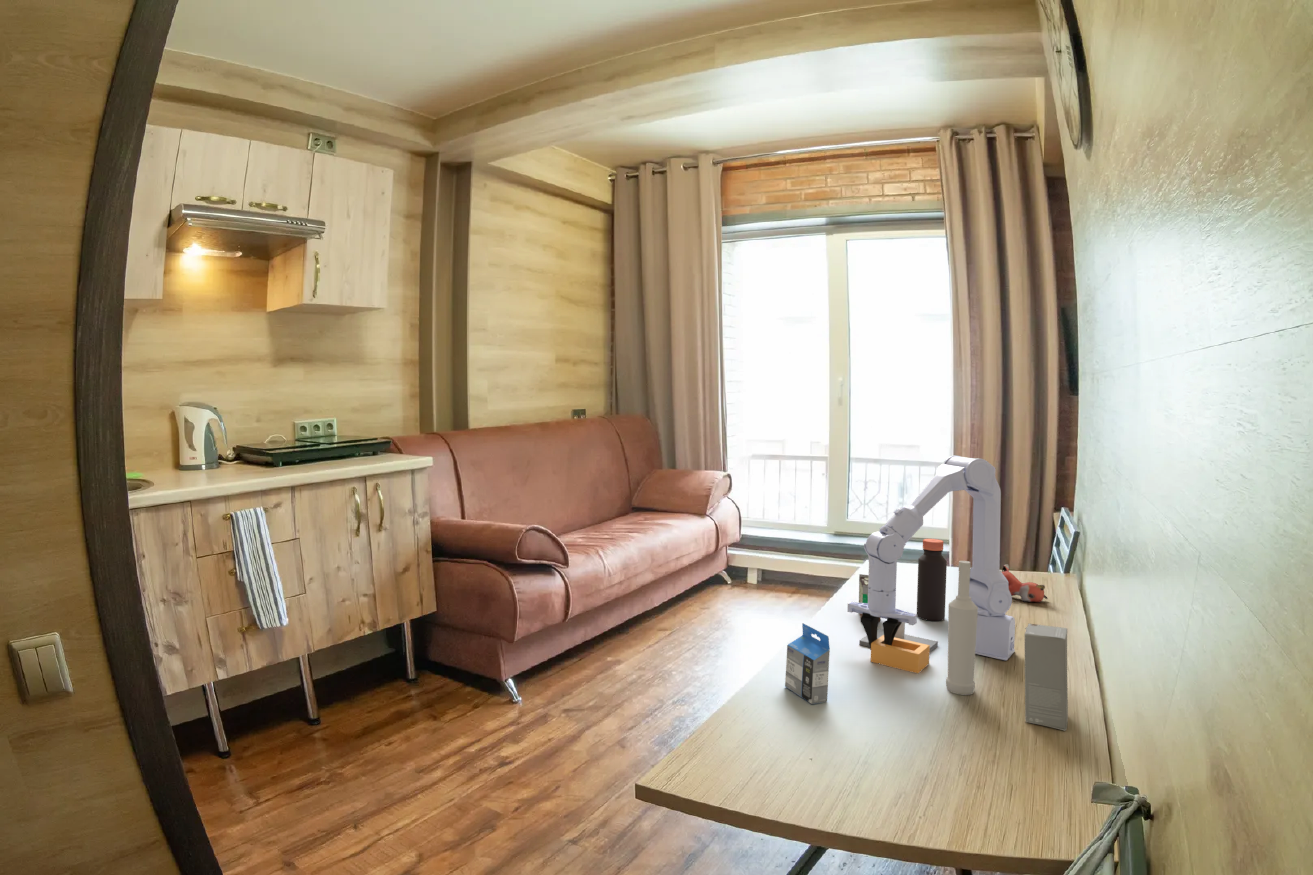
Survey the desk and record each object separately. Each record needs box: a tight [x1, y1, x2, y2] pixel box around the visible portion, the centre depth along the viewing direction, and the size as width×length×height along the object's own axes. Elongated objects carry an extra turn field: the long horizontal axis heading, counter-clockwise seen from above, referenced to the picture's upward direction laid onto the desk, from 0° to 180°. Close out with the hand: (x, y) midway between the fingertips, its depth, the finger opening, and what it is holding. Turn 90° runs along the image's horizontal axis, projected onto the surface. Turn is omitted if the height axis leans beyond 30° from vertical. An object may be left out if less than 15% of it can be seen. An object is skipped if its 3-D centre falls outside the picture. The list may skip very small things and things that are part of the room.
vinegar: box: [916, 538, 948, 622], centre depth 181 cm, size 7×7×20 cm
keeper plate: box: [859, 622, 939, 654], centre depth 161 cm, size 14×11×6 cm
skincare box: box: [1024, 623, 1069, 732], centre depth 125 cm, size 8×7×16 cm
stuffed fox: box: [1001, 564, 1049, 603], centre depth 200 cm, size 8×11×12 cm
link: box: [870, 635, 931, 674], centre depth 150 cm, size 10×7×4 cm
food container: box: [858, 573, 882, 623], centre depth 180 cm, size 12×6×10 cm, turn 168°
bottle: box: [945, 560, 978, 696], centre depth 136 cm, size 5×5×25 cm
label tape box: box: [784, 623, 830, 705], centre depth 134 cm, size 9×4×12 cm, turn 23°
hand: (880, 650), depth 153 cm, fingers open, 2 cm apart
